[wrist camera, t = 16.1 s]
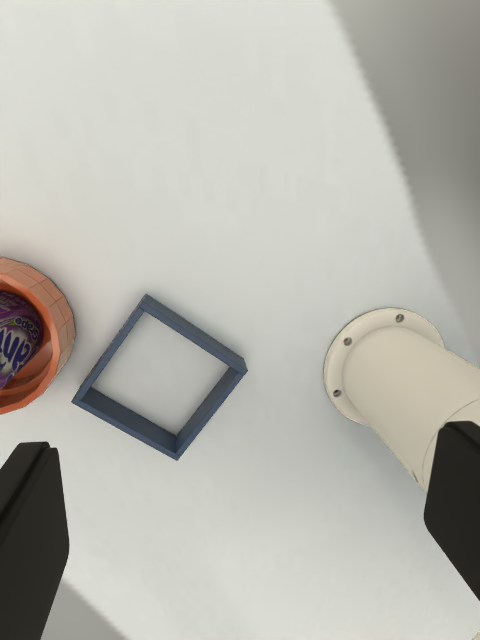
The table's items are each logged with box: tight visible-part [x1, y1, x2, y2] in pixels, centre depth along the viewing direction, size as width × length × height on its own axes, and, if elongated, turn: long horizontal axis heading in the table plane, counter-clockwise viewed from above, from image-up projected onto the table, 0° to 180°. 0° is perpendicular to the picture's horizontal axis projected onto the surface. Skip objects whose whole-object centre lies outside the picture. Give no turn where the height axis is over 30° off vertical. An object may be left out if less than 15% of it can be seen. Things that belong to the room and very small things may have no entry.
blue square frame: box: [71, 294, 248, 461], centre depth 37 cm, size 11×11×3 cm
